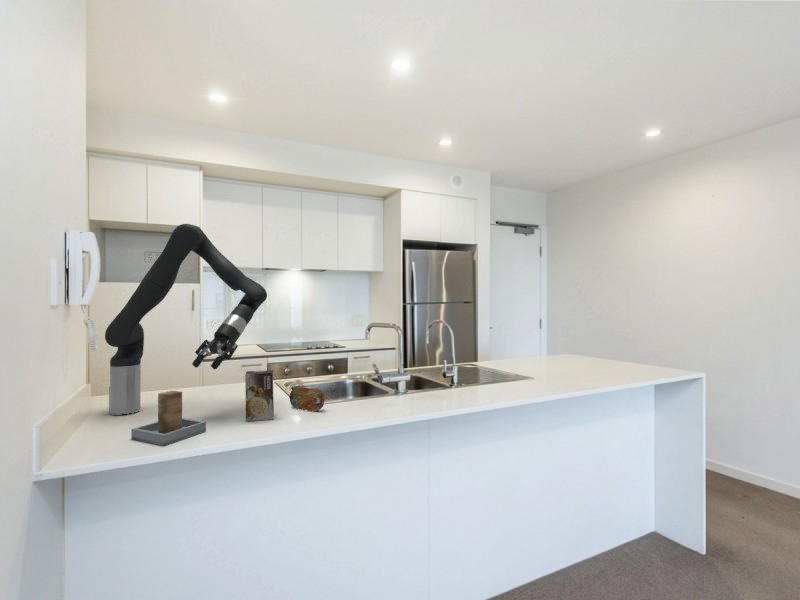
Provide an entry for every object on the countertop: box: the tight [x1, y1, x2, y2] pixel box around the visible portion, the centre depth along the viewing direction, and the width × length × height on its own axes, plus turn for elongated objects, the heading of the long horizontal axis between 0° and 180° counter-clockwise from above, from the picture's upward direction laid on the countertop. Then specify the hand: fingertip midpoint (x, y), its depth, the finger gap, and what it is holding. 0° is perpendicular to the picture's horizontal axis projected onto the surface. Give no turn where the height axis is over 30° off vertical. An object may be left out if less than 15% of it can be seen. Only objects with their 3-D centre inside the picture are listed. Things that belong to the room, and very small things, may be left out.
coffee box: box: [244, 369, 275, 422], centre depth 142 cm, size 9×6×16 cm
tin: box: [289, 386, 325, 412], centre depth 153 cm, size 15×3×8 cm, turn 62°
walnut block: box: [157, 390, 183, 434], centre depth 124 cm, size 4×4×12 cm
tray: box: [130, 417, 207, 447], centre depth 124 cm, size 14×14×3 cm
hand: (203, 366), depth 135 cm, fingers open, 8 cm apart
